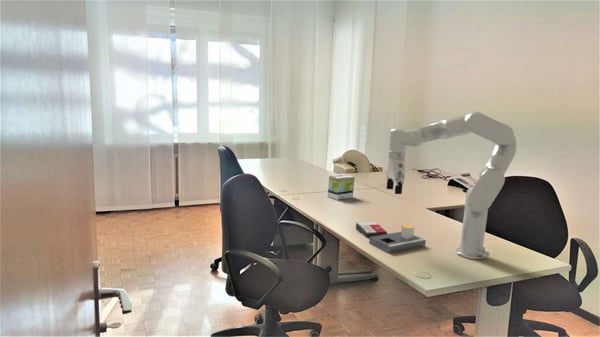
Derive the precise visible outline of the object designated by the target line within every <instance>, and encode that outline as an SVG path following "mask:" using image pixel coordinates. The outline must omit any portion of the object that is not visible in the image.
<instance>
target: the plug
mask: <svg viewBox="0 0 600 337" xmlns="http://www.w3.org/2000/svg"><path fill="white" fill-rule="evenodd" d="M400 232H401V237H402V238H404V239H407V240H408V239H413V235H414V233H415V227H413V226H412V225H408V224H406V225H402V226H401V230H400ZM414 236H415V235H414Z"/></svg>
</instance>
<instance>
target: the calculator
mask: <svg viewBox="0 0 600 337" xmlns="http://www.w3.org/2000/svg"><path fill="white" fill-rule="evenodd" d="M355 230H356V231H357V232H359V233H360V234H362V235H363V236H364V237H365V238H368V239H369V238H370V237H373V236H379V235H385V234H388V231H386V230H385V229H384V228H383V227H382V226H381V225H379V224H378V223H377V222H376V221H370V222H369V221H368V222H367V221H362V222H361V221H360V222H356V224H355Z"/></svg>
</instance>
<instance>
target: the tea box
mask: <svg viewBox="0 0 600 337" xmlns="http://www.w3.org/2000/svg"><path fill="white" fill-rule="evenodd" d="M354 187H355V176H353V175H350V174H343V173H342V174H335V175H333V174H332V175H329V177H328V187H327V198H330V199H332V200H333V199H334V200H336V201H339V200H344V199H352V198H354V189H355V188H354Z"/></svg>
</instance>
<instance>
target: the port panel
mask: <svg viewBox="0 0 600 337" xmlns="http://www.w3.org/2000/svg"><path fill="white" fill-rule="evenodd" d="M368 240H369V241H368V243H369V245H372V246H373V247H376V249H379V250H382V251H384V252H385V253H388V254H389V255H391V254H394V253H395V254H396V253H400V252H405V251H411V250H414V249H419V248H424V247H426V242H427V241H426V239H424V238H421V237H420V236H416V235H413V239H408V240H407V239H404V238H402V237H401V231H398V232H392V233H387V234H385V235H379V236H373V237H370V238H368Z"/></svg>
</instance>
